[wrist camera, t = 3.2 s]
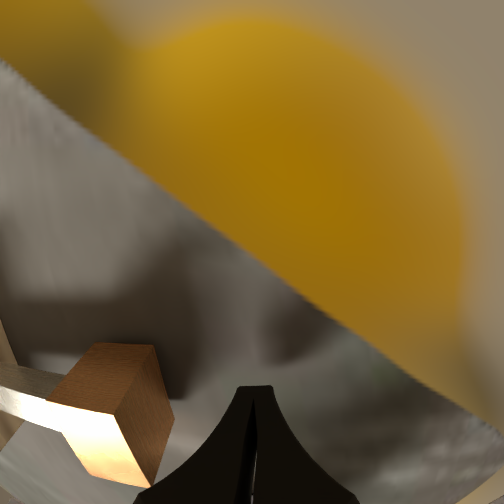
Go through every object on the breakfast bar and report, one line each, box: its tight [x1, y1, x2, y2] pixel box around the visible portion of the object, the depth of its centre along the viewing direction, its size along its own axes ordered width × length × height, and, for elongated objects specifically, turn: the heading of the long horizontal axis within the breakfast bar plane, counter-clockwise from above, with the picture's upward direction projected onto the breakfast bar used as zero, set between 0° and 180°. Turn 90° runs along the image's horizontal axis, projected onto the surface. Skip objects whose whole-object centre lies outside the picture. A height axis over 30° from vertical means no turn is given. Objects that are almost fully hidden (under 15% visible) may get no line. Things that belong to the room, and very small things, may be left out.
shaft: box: [0, 342, 175, 488], centre depth 11 cm, size 16×4×4 cm, turn 94°
